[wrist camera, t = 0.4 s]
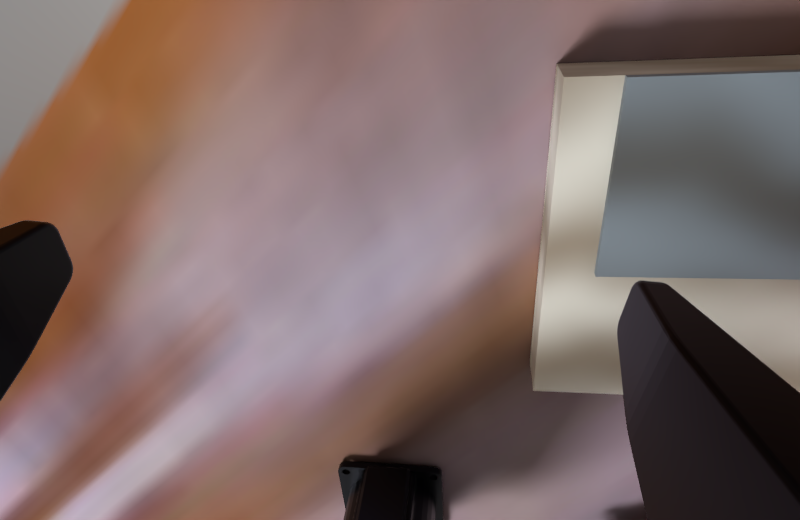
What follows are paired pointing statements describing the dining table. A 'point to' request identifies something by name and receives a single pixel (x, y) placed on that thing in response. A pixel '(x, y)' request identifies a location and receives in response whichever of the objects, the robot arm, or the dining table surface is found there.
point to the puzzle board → (669, 209)
